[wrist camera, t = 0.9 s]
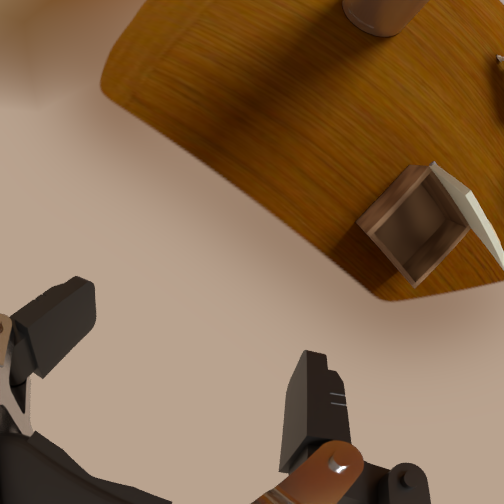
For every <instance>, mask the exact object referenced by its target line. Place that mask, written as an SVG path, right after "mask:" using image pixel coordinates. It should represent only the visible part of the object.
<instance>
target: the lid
mask: <svg viewBox="0 0 504 504" xmlns="http://www.w3.org/2000/svg"><path fill="white" fill-rule="evenodd" d="M429 167H430V168H431V169H432V171H433V172H434V173H435V175H436V176H437V177H438V179H439V180H440V182H441V183H442V184H443V186H444V187H445V189H446V190H447V191H448V193H449V194H450V196H451V197H452V199H453V200H454V202H455V203H456V205H457V206H458V208H459V209H460V211H461V212H462V214H463V216H464V217H465V219H466V220H467V222H468V224H469V225H470V227H471V229H472V230H473V231H474V232H475V233H476V235H477V236H478V237H479V238H480V240H481V241H482V242H483V243H484V245H485V246H486V247H487V248H488V250H489V251H490V252H491V254H492V255H493V256H494V258H495V259H496V260H497V262H498V263H499V264H500V266H501V267H502V269H503V270H504V251H503V249H502V247H501V245H500V241H499V239H498V237H497V234H496V232H495V230H494V229H493V227H492V225H491V223H490V222H489V221H488V219H487V217H486V216H485V214H484V212H483V210H482V208H481V207H480V205H479V203H478V202H477V200H476V198H475V197H474V195H473V193H472V192H471V190H470V189H468V188H467V187H466V186H465V185H463V184H462V183H461V182H459V181H458V180H457V179H455V178H454V177H453V176H451V175H450V174H449V173H447V172H446V171H444V170H443V169H442V168H440V167H439V166H438V165H437V164H436V162H435V161H433V162H432V163H430V165H429Z"/></svg>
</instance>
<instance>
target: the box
mask: <svg viewBox="0 0 504 504" xmlns="http://www.w3.org/2000/svg"><path fill="white" fill-rule="evenodd" d="M356 223H357V225H358V226H359V227H360V228H361V229H362V230H363V231H364V232H365V233H366V234H367V235H368V236H369V237H370V239H371V240H372V241H373V242H374V243H375V244H376V245H377V246H378V247H379V249H380V250H381V251H382V252H383V253H384V254H385V255H386V257H387V258H388V259H389V260H390V261H391V262H392V263H393V265H394V266H395V267H396V268H397V269H398V270H399V272H400V273H401V274H402V275H403V276H404V277H405V278H406V280H407V281H408V282H409V283H410V284H411V285H412V286H413V288H414V289H415V288H416V287H417V286H418V285H419V284H420V283H421V282H422V281H423V280H424V279H425V278H426V277H427V276H428V275H429V274H430V273H431V272H432V271H433V270H434V269H435V268H436V267H437V266H438V265H439V263H440V262H441V261H442V260H443V259H444V258H445V257H446V256H447V255H448V254H449V253H450V252H451V250H452V249H453V248H454V247H455V246H456V245H457V244H458V243H459V241H460V240H461V239H462V238H463V237H464V236H465V234H466V233H467V232H468V231H469V230H470V229H471V227H470V225H469V224H468V222H467V220H466V219H465V217H464V216H463V214H462V212H461V211H460V209H459V208H458V206H457V205H456V203H455V202H454V200H453V199H452V197H451V196H450V194H449V193H448V191H447V190H446V189H445V187H444V186H443V184H442V183H441V182H440V180H439V179H438V177H437V176H436V175H435V173H434V172H433V171H432V169H431V168H430V167H429V166H419V165H409V166H408V167H407V168H406V169H405V170H404V171H403V172H402V173H401V174H400V176H399V177H398V178H397V179H396V180H395V181H394V182H393V183H392V184H391V185H390V186H389V187H388V188H387V189H386V190H385V192H384V193H383V194H382V195H381V196H380V197H379V198H378V199H377V200H376V201H375V202H374V203H373V204H372V205H371V206H370V207H369V208H368V209H367V210H366V211H365V212H364V213H363V214H362V215H361V216H360V217H359V218H358V219H357V220H356Z"/></svg>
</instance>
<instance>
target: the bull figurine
mask: <svg viewBox="0 0 504 504" xmlns="http://www.w3.org/2000/svg"><path fill="white" fill-rule="evenodd" d="M496 57H497V59H499V61H500V62H502V61H504V57H500V56H499V55H497V56H496Z"/></svg>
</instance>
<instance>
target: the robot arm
mask: <svg viewBox="0 0 504 504" xmlns="http://www.w3.org/2000/svg"><path fill="white" fill-rule="evenodd" d="M428 1H429V0H343V1H342V6H343V10H344V12H345V14H346V16H347V17H348V19H349V20H350V21H351V22H352V23H353V24H354V25H355V26H357V27H358V28H360V29H361V30H363V31H365V32H367V33H369V34H372V35H375V36H381V37H389V36H394V35H396V34H398V33H399V32H400V31H401V30H402V29H403V28H404V27H405V26H406V25H407V24H408V22H409V21H410V20H411V19H412V18H413V17H414V16H415V15H416V14H417V13H418V12H419V11H420V10H421V9H422V8H423V6H424V5H425V4H426V3H427V2H428ZM95 321H96V304H95V287H94V284H93V283H92V282H90V281H88V280H85V279H83V278H81V277H78V276H75V277H73V278H71V279H70V280H68V281H67V282H66V283H64V284H60V285H57V286H54V287H51V288H50V289H49V290H47V291H45V292H44V293H43V295H40V296H38V297H37V298H36V299H35V300H32V301H31V302H30V303H28V304H27V305H25V306H24V307H23V308H21V309H20V310H18V311H17V312H16V313H14V314H13V315H11V316H10V317H8V316H7V315H4V314H0V504H172V502H171V501H168V500H165V499H163V498H160V497H157V496H154V495H152V494H149V493H147V492H144V491H142V490H139V489H137V488H135V487H131V486H127V485H122V484H118V483H114V482H110V481H106V480H102V479H98V478H95V477H93V476H91V475H89V474H88V473H87V472H86V471H85V470H84V469H82V468H81V467H80V466H79V465H78V464H77V463H76V462H75V461H74V460H73V459H72V458H71V457H70V456H69V455H68V454H67V453H66V452H65V451H64V450H63V449H61V448H60V447H58V446H57V445H55V444H54V443H52V442H50V441H49V440H48V439H46V438H45V437H44V436H42V435H41V434H39V433H38V432H37V431H35V432H34V433H33V430H32V427H31V423H30V389H31V388H30V387H31V379H30V375H31V374H32V373H33V372H34V373H35V374H37V375H38V376H40V377H41V378H42V379H43V378H44V377H45V376H46V375H47V374H48V373H49V372H50V371H51V370H52V369H53V368H54V367H55V366H56V365H57V364H58V363H59V362H60V361H61V360H62V359H63V358H64V357H65V355H66V354H68V353H69V352H70V350H71V349H72V348H73V347H74V346H75V345H76V344H77V343H78V342H79V341H80V340H81V339H82V338H83V337H85V336H86V335H87V334H88V333H89V331H91V329H92V328H93V326H94V324H95ZM279 472H283V473H289V476H288V477H287V478H286V479H285V480H283V481H282V482H281V483H280V484H278V485H277V486H276V487H275V488H273V489H272V490H269V491H268V492H266V493H265V494H263V495H262V496H261V497H259V498H258V499H256V500H255V501H254V502H252V503H251V504H431V501H430V494H429V487H428V482H427V477H426V475H425V473H424V472H423V471H422V469H421V468H419V467H418V466H416V465H414V464H412V463H401V464H398V465H396V466H395V467H394V468H392V469H391V470H389V469H385V468H382V467H379V466H376V465H373V464H370V463H367V462H366V461H364V460H363V456H362V455H361V453H360V451H359V450H358V449H357V448H356V447H355V446H353V445H352V444H351V437H350V428H349V421H348V412H347V406H346V397H345V390H344V383H343V381H342V379H341V378H340V376H339V375H338V373H337V372H336V371H332V370H328V367H327V357H326V355H325V354H321V353H317V352H312V351H308V350H305V351H303V353H302V355H301V357H300V360H299V362H298V364H297V366H296V368H295V371H294V373H293V375H292V377H291V379H290V382H289V384H288V388H287V392H286V401H285V414H284V425H283V435H282V447H281V455H280V465H279Z"/></svg>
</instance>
